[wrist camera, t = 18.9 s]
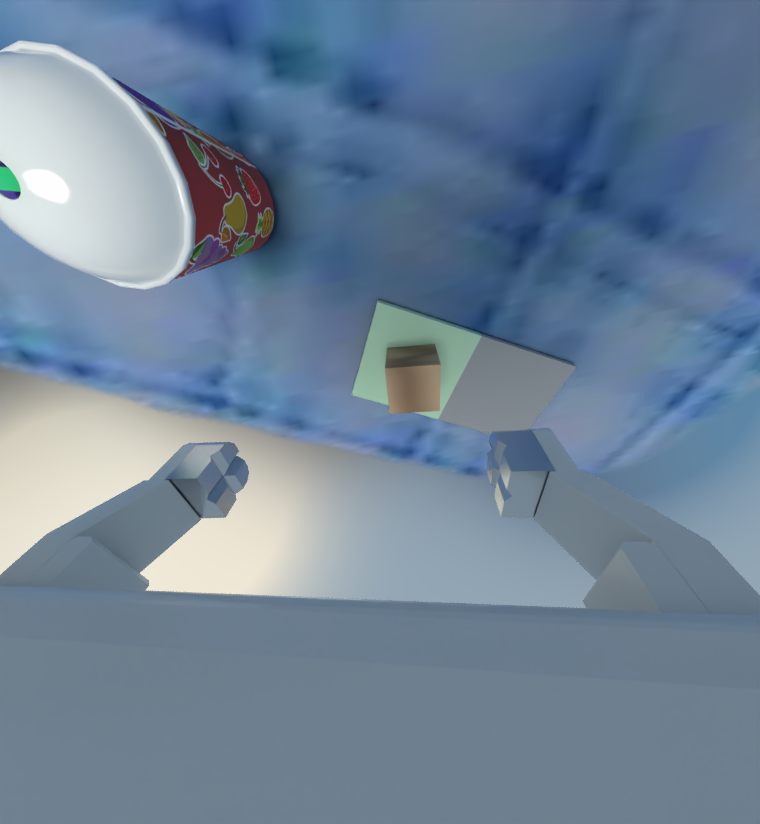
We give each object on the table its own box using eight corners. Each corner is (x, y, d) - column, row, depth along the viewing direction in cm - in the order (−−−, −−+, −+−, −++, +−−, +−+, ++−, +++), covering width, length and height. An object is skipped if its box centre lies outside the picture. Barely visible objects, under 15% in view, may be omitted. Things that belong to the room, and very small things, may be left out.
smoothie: (211, 105, 20) (-603, -405, 4) (307, 198, 23) (77, 136, 7) (176, 211, 24) (-301, 187, 8) (262, 280, 27) (45, 370, 10)
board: (572, 362, 30) (577, 366, 29) (515, 436, 36) (518, 441, 35) (378, 299, 27) (377, 301, 26) (352, 390, 33) (351, 394, 33)
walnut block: (434, 344, 28) (440, 364, 24) (434, 386, 31) (439, 410, 27) (386, 347, 29) (384, 368, 25) (390, 389, 32) (389, 413, 28)
